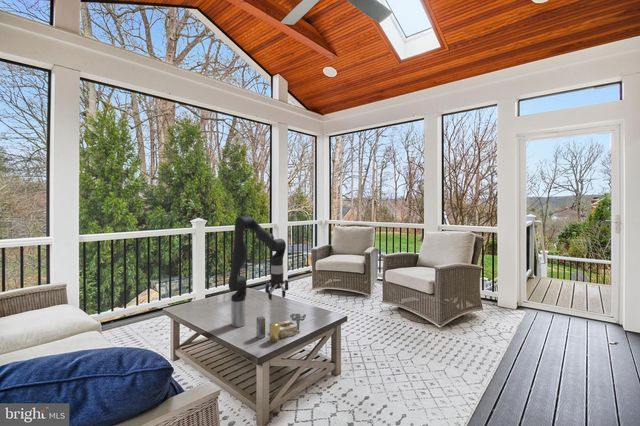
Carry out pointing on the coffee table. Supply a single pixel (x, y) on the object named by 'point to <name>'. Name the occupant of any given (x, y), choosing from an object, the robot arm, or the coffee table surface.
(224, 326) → the coffee table surface
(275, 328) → the round brass bit
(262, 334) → the bar
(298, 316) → the mechanical component
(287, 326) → the socket block
